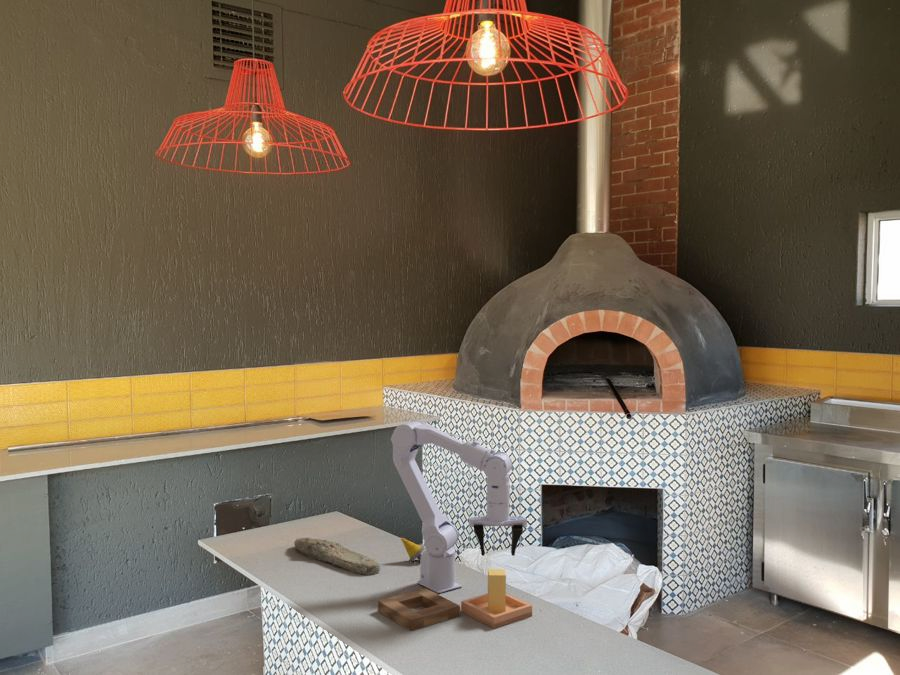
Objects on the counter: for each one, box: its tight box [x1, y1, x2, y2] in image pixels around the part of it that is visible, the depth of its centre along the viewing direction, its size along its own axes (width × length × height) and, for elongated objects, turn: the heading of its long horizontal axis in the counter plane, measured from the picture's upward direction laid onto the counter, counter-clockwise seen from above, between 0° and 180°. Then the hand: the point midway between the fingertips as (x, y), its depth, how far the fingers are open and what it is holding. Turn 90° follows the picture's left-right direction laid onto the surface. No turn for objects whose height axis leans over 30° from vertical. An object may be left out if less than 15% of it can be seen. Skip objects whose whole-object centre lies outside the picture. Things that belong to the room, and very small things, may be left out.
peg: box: [487, 568, 507, 613], centre depth 179 cm, size 4×4×9 cm
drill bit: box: [400, 536, 426, 563], centre depth 216 cm, size 5×5×10 cm
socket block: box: [377, 587, 461, 632], centre depth 179 cm, size 14×14×2 cm
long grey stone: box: [293, 537, 381, 576], centre depth 217 cm, size 35×5×10 cm
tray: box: [460, 593, 533, 629], centre depth 179 cm, size 12×12×2 cm
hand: (497, 554), depth 191 cm, fingers open, 7 cm apart
